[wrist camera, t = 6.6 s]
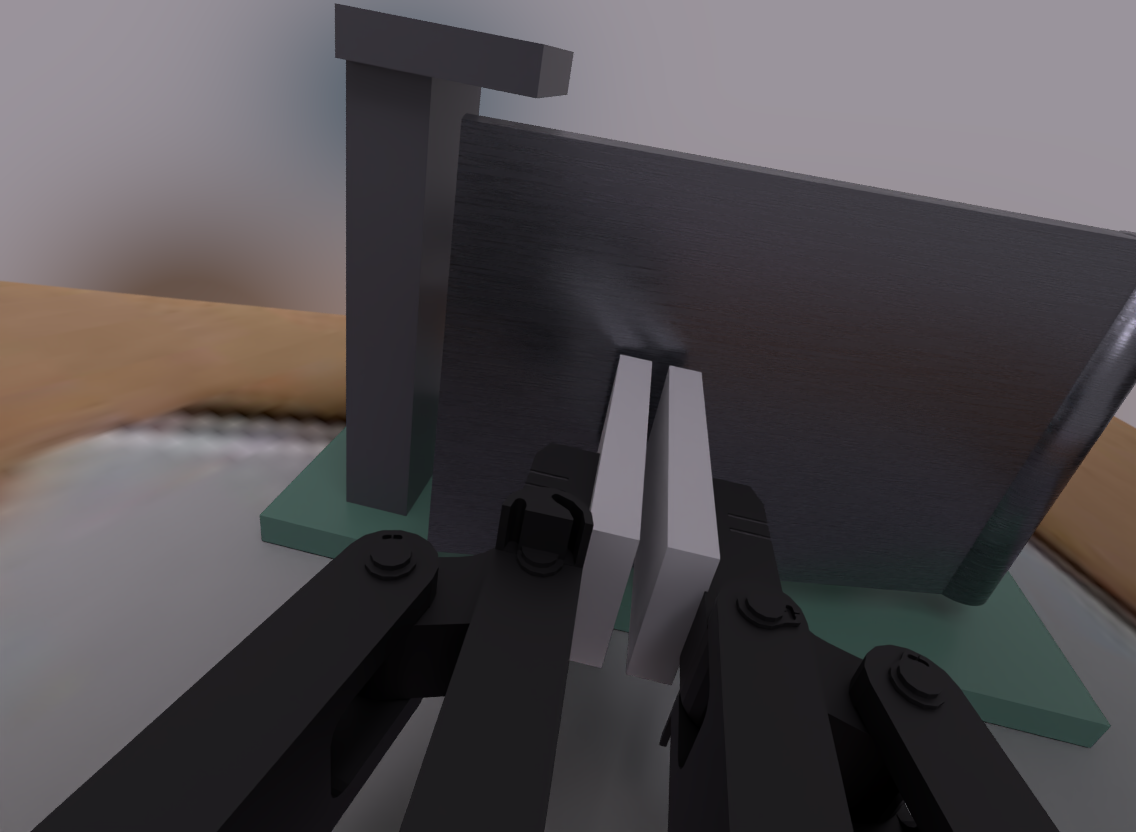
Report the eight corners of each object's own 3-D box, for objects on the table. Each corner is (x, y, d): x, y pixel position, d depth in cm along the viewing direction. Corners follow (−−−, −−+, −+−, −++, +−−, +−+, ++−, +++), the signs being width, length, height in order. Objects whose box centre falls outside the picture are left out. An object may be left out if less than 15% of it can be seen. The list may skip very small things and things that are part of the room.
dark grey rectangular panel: (962, 562, 21) (1167, 238, 16) (1001, 608, 20) (1246, 261, 14) (433, 513, 19) (467, 111, 14) (424, 561, 17) (459, 120, 12)
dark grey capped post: (512, 467, 23) (576, 53, 17) (478, 545, 20) (544, 44, 13) (396, 439, 24) (414, 20, 17) (339, 510, 20) (334, 3, 13)
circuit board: (940, 503, 29) (951, 485, 28) (1090, 748, 18) (1110, 726, 18) (409, 379, 30) (410, 360, 29) (261, 540, 20) (259, 515, 19)
